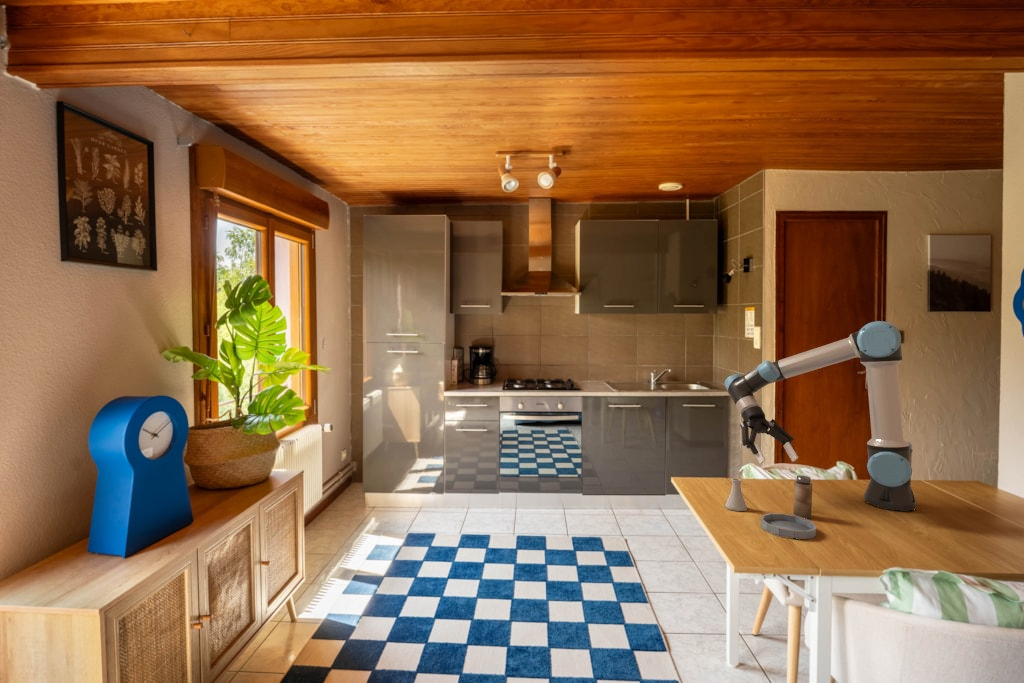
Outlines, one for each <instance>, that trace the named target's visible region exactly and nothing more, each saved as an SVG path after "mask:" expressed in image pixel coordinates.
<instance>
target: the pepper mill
mask: <svg viewBox="0 0 1024 683" xmlns="http://www.w3.org/2000/svg"><path fill="white" fill-rule="evenodd" d="M811 481H812V480H811V477H810V476H808V475H802V474H801V475H797V476H796V480H795V481H794V483H793V484H794V485H793V486H794V488H793V514H794V515H795V516H798V517H801V518H805V519H806V518H807V519H808V520H811V519H812V507H813V483H812V482H811ZM793 514H792V515H793ZM810 518H811V519H810Z"/></svg>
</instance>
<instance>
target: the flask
mask: <svg viewBox="0 0 1024 683" xmlns="http://www.w3.org/2000/svg"><path fill="white" fill-rule="evenodd" d="M731 483H732V485H731V489H730V492H729V496H727V497H728V498H727V500H726V503H725V505H724V508H726V509H727V510H728V511H729V510H730V511H734V512H747V510H748V506H747V504H746V501H745V497H744V495H743V492H742V488H741V483H742V479H741V478H736V477H735V478H734V477H733V478H731Z"/></svg>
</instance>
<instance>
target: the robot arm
mask: <svg viewBox="0 0 1024 683" xmlns="http://www.w3.org/2000/svg"><path fill="white" fill-rule="evenodd" d="M902 349H903V348H902V335H901V332H900V330H899V329H898V327H896V326H895V325H894V324H893V323H890V322H889V321H888V322H887V321H883V320H881V321H880V320H877V321H871V322H868V323H867V324H865V325H864V326H862V327H861V328H860V329H859V330H858V331H856V332H851V333H850V334H849V336H848V337H847V338H843V339H840V340H837V341H833V342H831V343H828V344H825V345H822V346H819V347H815V348H812V349H809V350H806V351H803V352H800V353H797V354H794V355H791V356H788V357H785V358H782V359H779V360H776V361H772V362H771V361H770V360H765V361H763V362H762V363H759V364H758V365H757V366H755V367H754V368H752V369H751V370H750V371H748V372H747V373H745V374H743V375H742V374H741V373H735V374H732V375H730V376H728V377H727V378H726V379H725V380H724V386H725V389H726V390H727V391H726V392H727V394H728V395H729V396H730V398H731V400H732V401H733V403H734V404H735V407H736V408H737V410H738V412H739V414H740V415H741V418H742V419H743V420H742V421H741V423H740V424H739V426H740V428H741V441H742V446H744V447H746V448H747V449H750V451H751V453H752V454H753V455H754V456H755V458H756V460H757V461H758V463H759V464H760V465H762V464H764V462H765V461H766V460H767V459H766V457H765V455H764V454H763V451H762V450H761V448H760V447H759V445H758V443H755V442H756V438H757V434H759V435H760V434H766V435H769V436H771V437H773V438H774V439H775V440H777V441H778V442H780V443H781V444H783V448H784V450H785V452H786V454H787V456H788V457H789V459H790V460H791V462H792V463H794V462H796V461H797V460H798V459H799V456H798V454H797V452H796V451H795V448H794V446H793V444H792V442H793V441H794V440H795V438H794V437H793V436H791V435H790V434H789V432H787V431H786V430H785V429H783V428H782V426H781V425H779V424H778V423H777V422H776V420H775V419H771V420H769V421H768V419H767V418H766V414H765V412H764V411H763V408H762V407H761V405H760V403H759V402H758V400H757V399H756V397H755V393H756V392H758V391H759V390H761V389H763V388H764V387H766V386H768V385H770V384H774V383H776V382H780V381H784V380H785V379H789V378H792V377H796V376H798V375H803V374H806V373H808V372H809V373H810V372H813V371H815V370H818V369H822V368H826V367H828V366H832V365H835V364H839V363H843V362H845V361H849V360H852V359H854V358H855V359H856V358H859V359H860V364H861V365H863V366H864V367H865V370H866V382H867V396H868V406H869V418H870V421H869V422H870V431H871V438H870V439H869V440H868V441H867V442H866V446H867V450H866V451H867V464H866V468H867V471H868V474H869V475H870V480H869V482H868V484H867V487H866V490H865V492H864V493H863V501H864V500H865V501H866V502H868V503H870V504H872V505H875V506H879V507H882V508H881V509H883V508H886V509H885V510H888V509H892V510H891V511H894V510H900V511H899V512H911V511H910V510H914V509H916V510H917V502H916V499H915V498H916V497H915V495H914V492H913V490H912V486H911V485H912V484H911V481H912V480H911V479H912V476H913V468H912V461H913V460H912V458H913V455H912V454H913V451H914V450H913V446H912V445H913V444H911V442H908V441H906V440H905V439H904V433H903V432H904V430H903V422H902V421H903V420H902V409H901V408H902V407H901V397H900V385H899V372H898V366H899V365H900V364H901V363H902V362H903V351H902ZM749 430H750V431H749ZM749 432H750V433H749ZM865 501H864V502H865ZM866 502H865V503H866ZM868 503H867V504H868ZM870 504H869V505H870ZM872 505H871V506H872ZM875 506H874V507H875ZM879 507H878V508H879ZM908 510H909V511H908ZM914 511H915V510H914Z"/></svg>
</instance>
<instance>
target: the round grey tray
mask: <svg viewBox="0 0 1024 683" xmlns="http://www.w3.org/2000/svg"><path fill="white" fill-rule="evenodd" d="M761 526H762V527H761ZM760 527H761V529H762V530H764V531H765V530H766V531H765V532H767V531H768V532H767V533H769V532H770V533H769V534H771V533H772V534H771V535H774V534H775V535H774V536H777V535H778V536H777V537H780V536H782V537H781V538H784V537H787V538H786V539H790V538H797V539H796V540H800V539H804V540H811V539H813V538H815V537H816V536H817V524H815V522H813V521H811V519H804V518H801V517H798V516H794V515H793V514H786V513H779V512H778V513H773V512H772V513H770V512H769V513H766V514H762V515H761V518H760ZM810 538H811V539H810Z"/></svg>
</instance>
